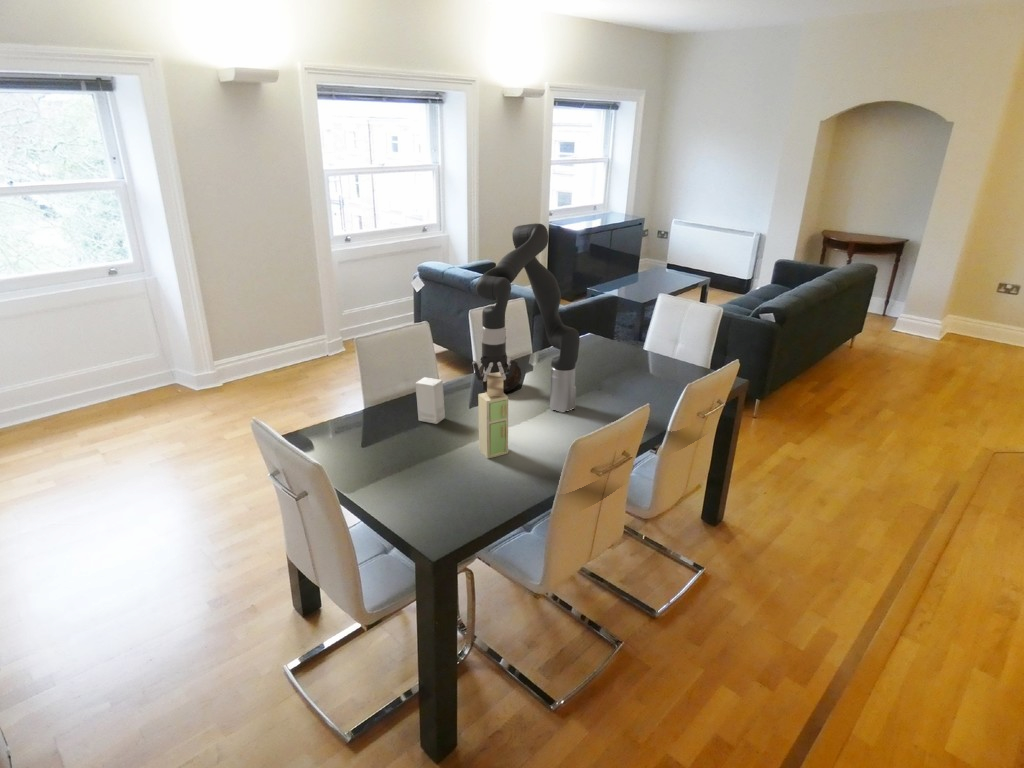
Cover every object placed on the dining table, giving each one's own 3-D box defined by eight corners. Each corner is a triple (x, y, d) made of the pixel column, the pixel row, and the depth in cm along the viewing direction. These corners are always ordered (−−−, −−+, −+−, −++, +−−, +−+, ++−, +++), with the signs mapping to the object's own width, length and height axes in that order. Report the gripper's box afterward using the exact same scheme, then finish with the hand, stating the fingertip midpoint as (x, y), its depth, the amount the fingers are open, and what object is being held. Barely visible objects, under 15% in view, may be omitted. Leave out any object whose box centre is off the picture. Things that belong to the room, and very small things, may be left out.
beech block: (499, 389, 204) (499, 372, 201) (503, 395, 199) (503, 377, 197) (484, 390, 202) (484, 373, 200) (488, 396, 198) (487, 379, 196)
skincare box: (445, 418, 234) (444, 379, 228) (436, 425, 228) (434, 385, 223) (426, 414, 237) (424, 376, 231) (416, 420, 232) (414, 382, 226)
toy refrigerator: (487, 460, 204) (487, 401, 196) (478, 450, 210) (477, 393, 202) (509, 455, 208) (509, 397, 200) (499, 445, 214) (499, 389, 206)
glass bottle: (529, 391, 260) (530, 326, 249) (493, 400, 250) (493, 333, 240) (505, 378, 273) (505, 316, 263) (470, 386, 264) (469, 322, 253)
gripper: (512, 334, 199) (512, 384, 205) (468, 337, 196) (469, 388, 202) (519, 342, 192) (518, 392, 199) (473, 345, 189) (474, 396, 195)
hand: (493, 390), depth 200 cm, fingers closed on beech block, 4 cm apart
